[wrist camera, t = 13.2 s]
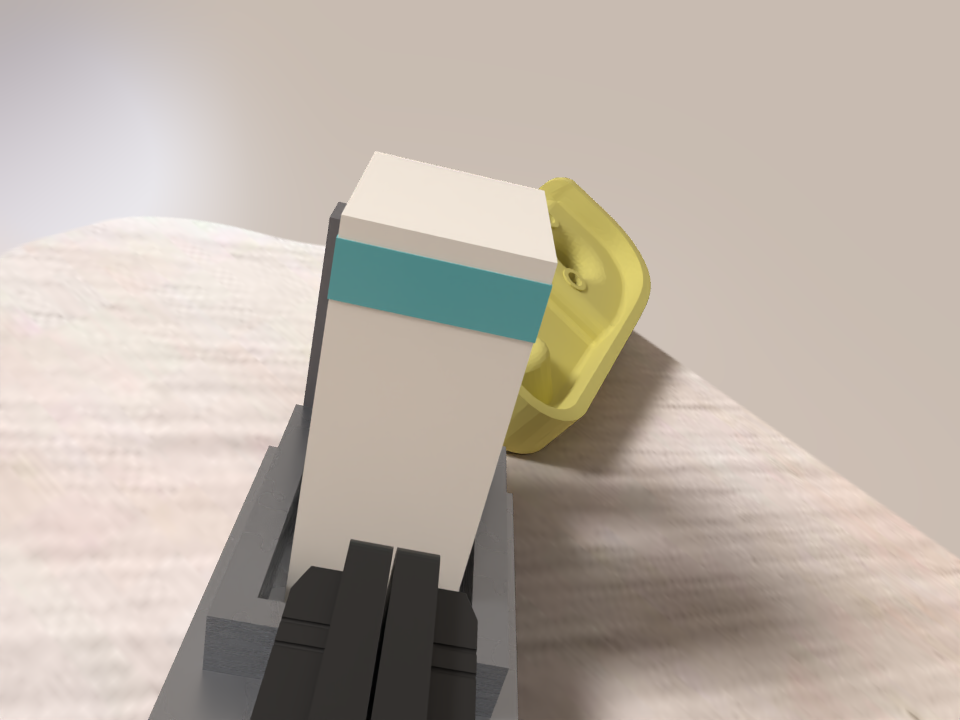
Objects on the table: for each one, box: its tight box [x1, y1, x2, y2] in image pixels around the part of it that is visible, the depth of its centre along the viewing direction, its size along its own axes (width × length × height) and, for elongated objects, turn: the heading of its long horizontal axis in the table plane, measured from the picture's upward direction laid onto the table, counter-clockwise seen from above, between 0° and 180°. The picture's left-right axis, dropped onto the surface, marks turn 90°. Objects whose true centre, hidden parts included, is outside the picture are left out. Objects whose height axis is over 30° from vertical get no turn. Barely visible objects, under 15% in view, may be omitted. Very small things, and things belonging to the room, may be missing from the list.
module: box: [284, 151, 558, 603], centre depth 21 cm, size 5×5×12 cm
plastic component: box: [503, 178, 651, 454], centre depth 41 cm, size 20×7×10 cm
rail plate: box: [148, 404, 518, 720], centre depth 21 cm, size 16×9×4 cm, turn 179°
